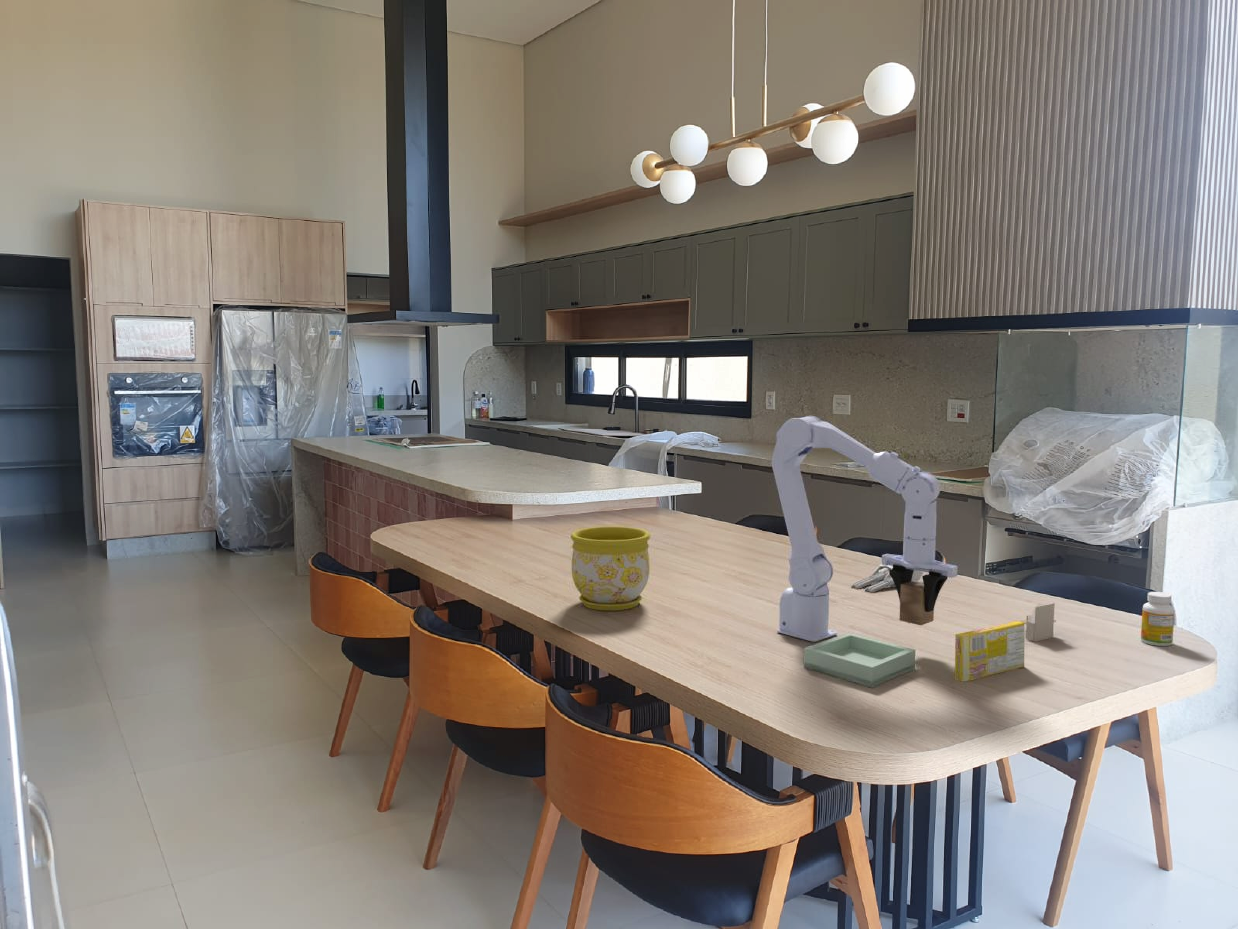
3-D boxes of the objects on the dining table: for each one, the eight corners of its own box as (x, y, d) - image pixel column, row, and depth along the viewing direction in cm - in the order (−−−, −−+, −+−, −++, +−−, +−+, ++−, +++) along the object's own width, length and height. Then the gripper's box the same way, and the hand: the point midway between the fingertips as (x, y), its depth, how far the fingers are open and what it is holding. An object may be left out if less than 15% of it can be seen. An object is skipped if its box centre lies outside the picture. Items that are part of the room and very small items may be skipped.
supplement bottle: (1143, 636, 180) (1146, 589, 179) (1174, 641, 177) (1177, 593, 176) (1138, 643, 176) (1141, 594, 175) (1170, 648, 173) (1173, 599, 172)
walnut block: (899, 620, 171) (900, 584, 170) (911, 615, 174) (913, 580, 173) (921, 625, 167) (922, 588, 167) (933, 620, 170) (934, 584, 170)
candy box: (1014, 664, 164) (1017, 620, 164) (1025, 667, 163) (1027, 623, 162) (952, 679, 157) (954, 633, 156) (962, 683, 155) (964, 636, 154)
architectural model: (1018, 639, 181) (1020, 603, 180) (1041, 634, 184) (1043, 598, 183) (1033, 643, 178) (1035, 607, 177) (1056, 638, 181) (1058, 602, 180)
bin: (803, 667, 163) (804, 648, 162) (847, 650, 172) (848, 632, 172) (871, 687, 152) (872, 667, 152) (914, 668, 162) (915, 649, 161)
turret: (845, 595, 222) (843, 577, 221) (898, 572, 233) (897, 555, 232) (877, 604, 214) (876, 585, 213) (931, 580, 225) (929, 562, 224)
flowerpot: (612, 619, 193) (612, 544, 191) (554, 604, 205) (554, 533, 204) (666, 603, 206) (666, 532, 205) (608, 589, 219) (608, 523, 217)
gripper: (873, 534, 172) (871, 604, 173) (945, 546, 161) (942, 620, 162) (893, 530, 176) (891, 597, 178) (964, 541, 166) (961, 612, 167)
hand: (916, 608), depth 170 cm, fingers closed on walnut block, 4 cm apart
